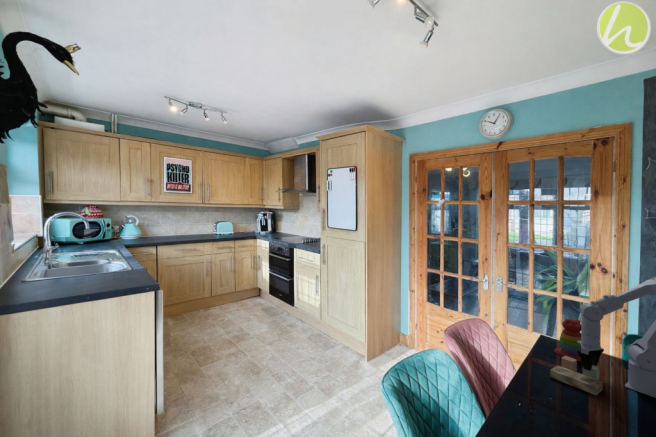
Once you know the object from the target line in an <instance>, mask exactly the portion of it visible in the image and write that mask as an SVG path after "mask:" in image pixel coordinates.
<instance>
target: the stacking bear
mask: <svg viewBox="0 0 656 437" xmlns="http://www.w3.org/2000/svg"><path fill="white" fill-rule="evenodd" d="M561 324H562V327H563V330H562V331H561V333H560V336H559V345H560V348H559V347H558V348H555V349H554V350H553V351H554V353H555V354H557V356H561V358H562V357H564V356H567V357H570V358H573V359H576V360H577V362H582V361H581V358H580V356H579V355H578V353H577V350H578V349H580V350H581V348H582V347H581V344H579V343H577V341H581V321H580V319H574V318H566V319H565V320H563V321H562V322H561Z"/></svg>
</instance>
